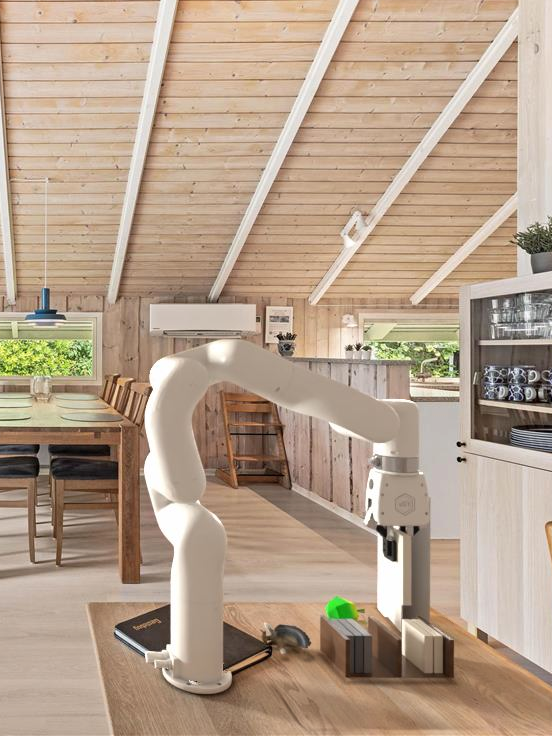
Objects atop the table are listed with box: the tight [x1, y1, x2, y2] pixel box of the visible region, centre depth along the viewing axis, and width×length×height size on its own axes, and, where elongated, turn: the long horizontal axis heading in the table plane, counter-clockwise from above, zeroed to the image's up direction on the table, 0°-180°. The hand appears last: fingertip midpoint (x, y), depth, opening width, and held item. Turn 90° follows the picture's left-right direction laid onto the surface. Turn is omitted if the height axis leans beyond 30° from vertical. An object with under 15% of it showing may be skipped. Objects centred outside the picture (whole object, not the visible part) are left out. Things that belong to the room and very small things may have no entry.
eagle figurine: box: [259, 622, 312, 656], centre depth 125 cm, size 8×7×9 cm
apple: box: [325, 595, 368, 624], centre depth 138 cm, size 7×6×9 cm
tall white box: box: [377, 496, 432, 634], centre depth 139 cm, size 14×6×30 cm, turn 168°
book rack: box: [319, 614, 455, 679], centre depth 120 cm, size 20×10×8 cm, turn 90°
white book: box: [382, 527, 411, 605], centre depth 120 cm, size 2×7×13 cm, turn 0°
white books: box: [401, 619, 443, 673], centre depth 120 cm, size 4×7×7 cm, turn 0°
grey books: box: [327, 618, 372, 673], centre depth 120 cm, size 5×7×7 cm
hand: (396, 558), depth 120 cm, fingers closed on white book, 1 cm apart
